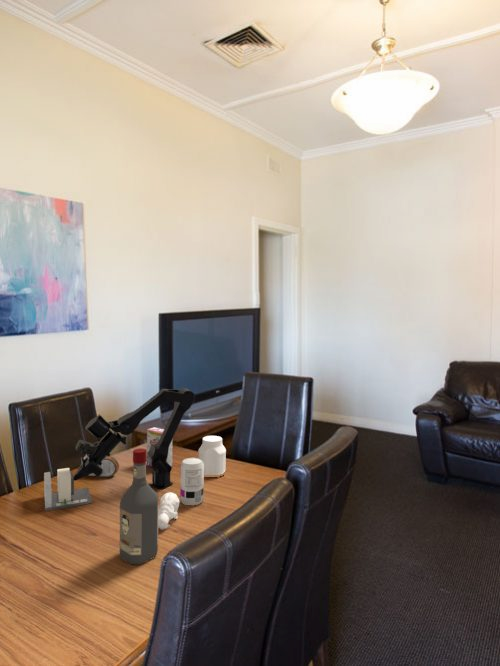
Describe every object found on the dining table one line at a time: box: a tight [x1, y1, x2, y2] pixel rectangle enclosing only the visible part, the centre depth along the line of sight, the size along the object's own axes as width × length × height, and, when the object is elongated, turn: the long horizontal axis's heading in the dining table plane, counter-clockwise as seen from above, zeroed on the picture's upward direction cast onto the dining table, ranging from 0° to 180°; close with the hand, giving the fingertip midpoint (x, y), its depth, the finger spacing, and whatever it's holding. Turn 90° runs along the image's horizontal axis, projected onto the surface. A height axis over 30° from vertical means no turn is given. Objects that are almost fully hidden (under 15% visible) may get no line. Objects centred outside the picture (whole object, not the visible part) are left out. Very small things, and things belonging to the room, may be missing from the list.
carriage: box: [56, 467, 75, 503], centre depth 158 cm, size 5×10×9 cm, turn 26°
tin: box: [87, 455, 120, 478], centre depth 182 cm, size 15×3×8 cm, turn 84°
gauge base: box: [43, 471, 93, 512], centre depth 159 cm, size 15×12×9 cm
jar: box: [197, 435, 227, 475], centre depth 187 cm, size 12×10×15 cm
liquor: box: [119, 448, 159, 565], centre depth 125 cm, size 9×9×30 cm
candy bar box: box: [146, 426, 174, 468], centre depth 193 cm, size 11×5×16 cm, turn 58°
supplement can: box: [179, 457, 205, 506], centre depth 160 cm, size 8×8×15 cm
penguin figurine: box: [158, 491, 181, 531], centre depth 144 cm, size 6×8×12 cm
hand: (73, 479), depth 160 cm, fingers closed, pressing on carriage
